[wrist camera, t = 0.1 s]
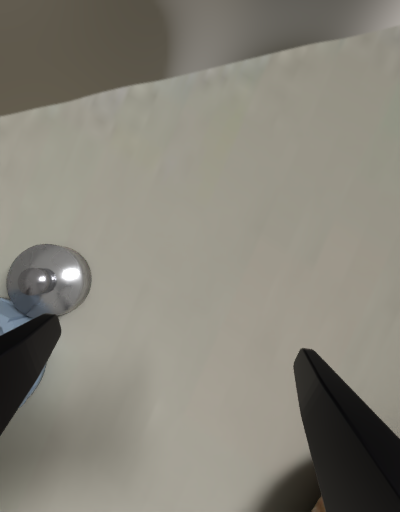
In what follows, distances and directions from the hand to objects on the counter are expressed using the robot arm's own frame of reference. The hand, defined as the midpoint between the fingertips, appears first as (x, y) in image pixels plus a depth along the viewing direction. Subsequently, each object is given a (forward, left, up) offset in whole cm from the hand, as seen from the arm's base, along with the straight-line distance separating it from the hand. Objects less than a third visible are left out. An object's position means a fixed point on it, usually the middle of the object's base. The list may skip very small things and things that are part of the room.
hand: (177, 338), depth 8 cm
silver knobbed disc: (+7, +12, -15) cm, 20 cm away
